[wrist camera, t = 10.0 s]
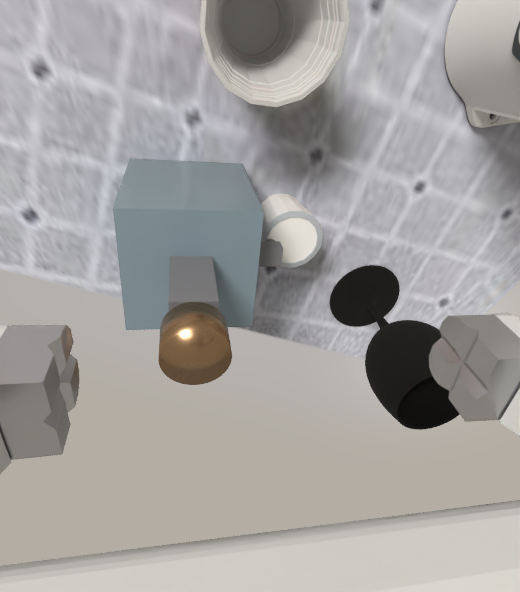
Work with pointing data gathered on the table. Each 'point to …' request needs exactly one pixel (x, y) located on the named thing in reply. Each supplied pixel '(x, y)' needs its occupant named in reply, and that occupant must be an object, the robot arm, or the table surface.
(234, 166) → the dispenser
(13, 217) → the table surface
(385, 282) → the wine glass
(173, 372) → the pump plunger
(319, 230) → the shot glass
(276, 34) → the plastic cup
